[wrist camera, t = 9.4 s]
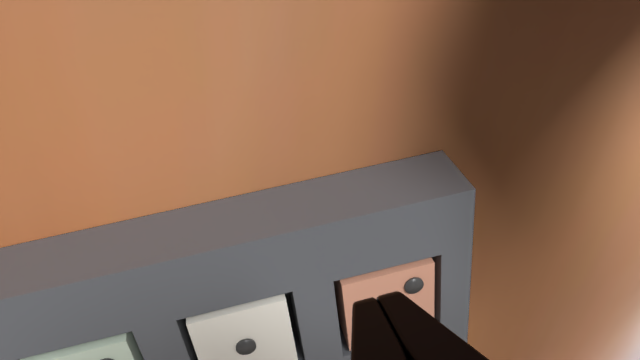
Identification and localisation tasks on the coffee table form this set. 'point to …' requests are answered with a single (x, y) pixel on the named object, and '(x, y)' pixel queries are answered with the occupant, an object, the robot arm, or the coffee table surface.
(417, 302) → the key three dots
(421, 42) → the coffee table surface
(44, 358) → the key two dots
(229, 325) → the key one dot
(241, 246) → the keypad
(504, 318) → the coffee table surface
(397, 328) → the robot arm
